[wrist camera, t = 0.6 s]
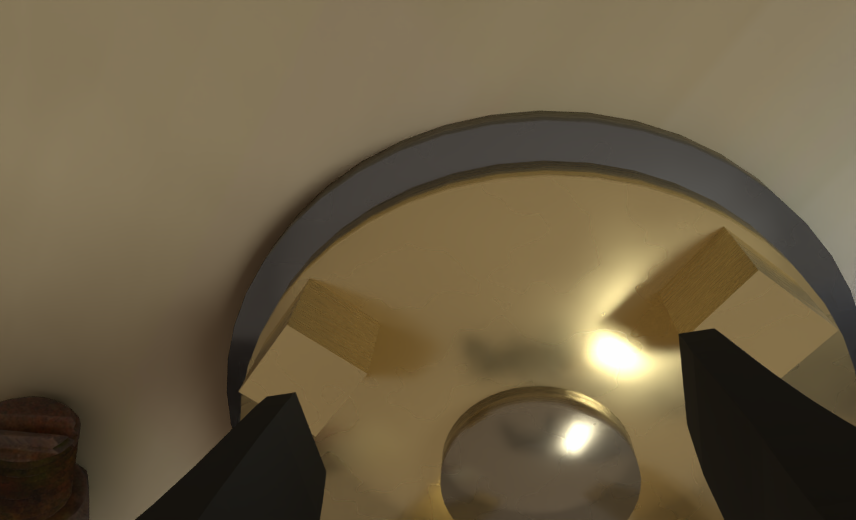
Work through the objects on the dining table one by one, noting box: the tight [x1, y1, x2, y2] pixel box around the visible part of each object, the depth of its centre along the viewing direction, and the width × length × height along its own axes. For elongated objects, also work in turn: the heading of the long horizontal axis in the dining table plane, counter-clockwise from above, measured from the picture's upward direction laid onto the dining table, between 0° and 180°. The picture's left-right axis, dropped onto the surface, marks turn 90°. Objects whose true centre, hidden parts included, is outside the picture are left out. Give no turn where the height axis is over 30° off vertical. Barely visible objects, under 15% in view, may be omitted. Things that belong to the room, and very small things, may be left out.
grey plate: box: [227, 111, 856, 429], centre depth 24 cm, size 21×21×1 cm
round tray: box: [239, 161, 856, 520], centre depth 21 cm, size 19×19×4 cm
